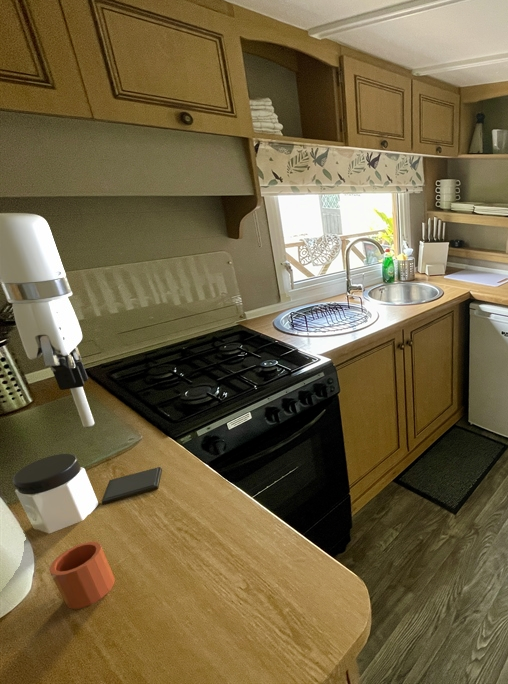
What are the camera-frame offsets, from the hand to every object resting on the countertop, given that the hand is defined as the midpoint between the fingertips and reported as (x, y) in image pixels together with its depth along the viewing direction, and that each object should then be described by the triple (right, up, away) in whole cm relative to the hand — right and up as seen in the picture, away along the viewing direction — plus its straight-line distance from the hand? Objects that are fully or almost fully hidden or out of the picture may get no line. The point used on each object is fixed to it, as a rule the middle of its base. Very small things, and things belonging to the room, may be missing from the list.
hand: (74, 384), depth 69 cm
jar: (-5, -27, +4) cm, 28 cm away
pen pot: (+13, -32, -10) cm, 36 cm away
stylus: (0, -9, +3) cm, 9 cm away
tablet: (+1, -24, +11) cm, 26 cm away
